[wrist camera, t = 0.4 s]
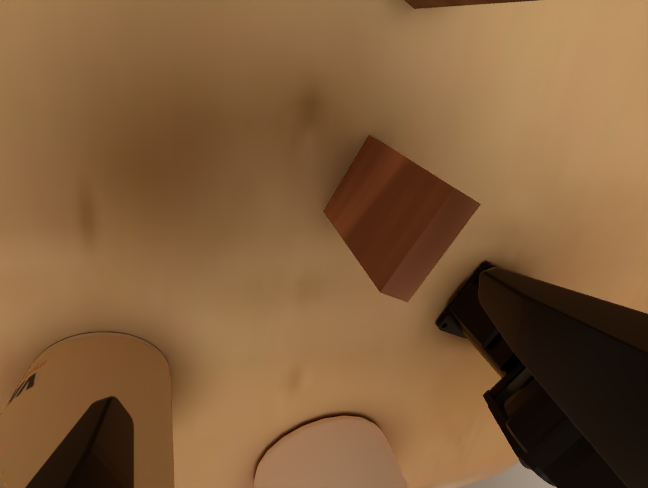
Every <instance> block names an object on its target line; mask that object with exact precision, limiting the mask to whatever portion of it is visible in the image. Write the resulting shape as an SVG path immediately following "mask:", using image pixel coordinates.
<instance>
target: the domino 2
mask: <svg viewBox="0 0 648 488" xmlns="http://www.w3.org/2000/svg"><path fill="white" fill-rule="evenodd" d="M405 1H406V2H408V3H409V4H410V5H411V6H412V7H413V8H414V9H417V8H432V7H447V6H462V5H476V4H491V3H506V2H521V1H536V0H405Z"/></svg>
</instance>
